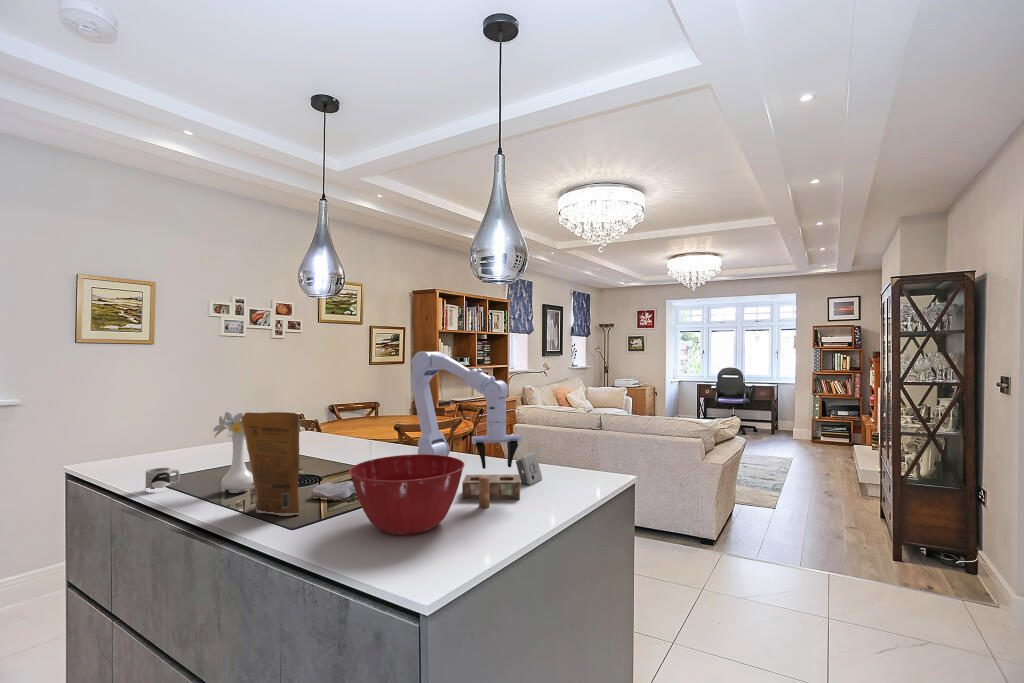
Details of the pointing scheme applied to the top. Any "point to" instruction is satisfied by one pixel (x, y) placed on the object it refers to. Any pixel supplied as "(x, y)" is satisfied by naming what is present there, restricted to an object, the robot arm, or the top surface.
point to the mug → (160, 477)
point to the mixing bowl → (407, 491)
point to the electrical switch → (529, 469)
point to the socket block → (492, 486)
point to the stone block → (334, 490)
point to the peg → (484, 492)
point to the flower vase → (235, 454)
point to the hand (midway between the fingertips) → (496, 467)
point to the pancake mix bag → (274, 459)
